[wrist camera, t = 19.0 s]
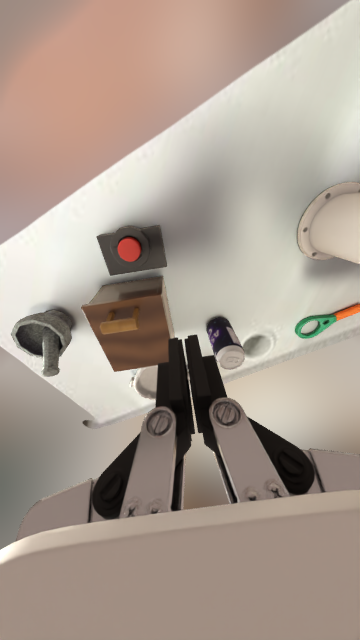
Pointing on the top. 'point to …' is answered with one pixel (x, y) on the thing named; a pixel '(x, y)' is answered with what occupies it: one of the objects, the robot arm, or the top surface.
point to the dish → (146, 381)
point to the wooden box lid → (131, 330)
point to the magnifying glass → (321, 319)
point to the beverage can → (225, 343)
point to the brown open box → (136, 293)
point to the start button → (129, 249)
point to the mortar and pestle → (44, 338)
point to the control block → (149, 255)
